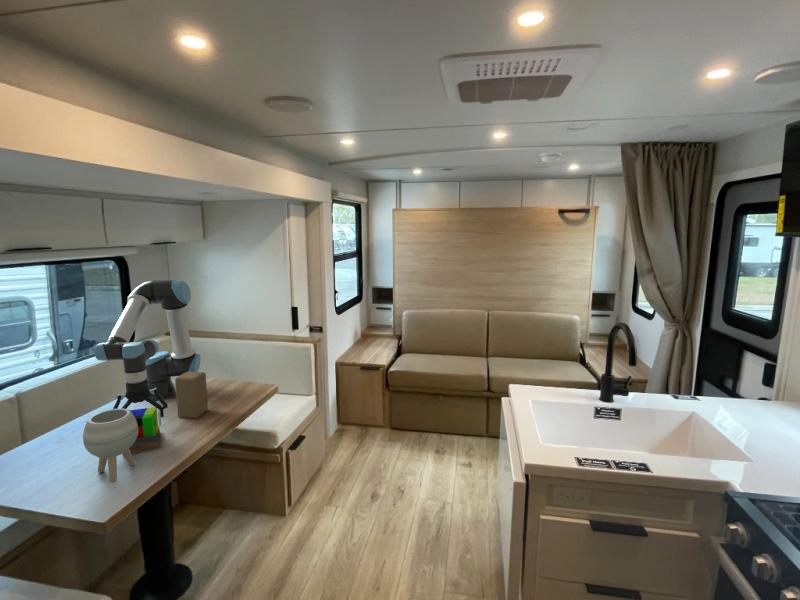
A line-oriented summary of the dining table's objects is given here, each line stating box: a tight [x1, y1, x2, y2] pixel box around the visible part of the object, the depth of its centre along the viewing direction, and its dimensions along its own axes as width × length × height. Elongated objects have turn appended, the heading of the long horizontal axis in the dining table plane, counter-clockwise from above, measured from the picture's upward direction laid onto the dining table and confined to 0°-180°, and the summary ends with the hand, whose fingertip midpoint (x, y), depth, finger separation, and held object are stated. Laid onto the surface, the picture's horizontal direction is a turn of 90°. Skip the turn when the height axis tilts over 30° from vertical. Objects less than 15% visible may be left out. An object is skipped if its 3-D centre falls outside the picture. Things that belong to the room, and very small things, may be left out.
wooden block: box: [174, 371, 209, 419], centre depth 192 cm, size 10×10×20 cm
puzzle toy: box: [129, 406, 159, 439], centre depth 166 cm, size 10×10×10 cm
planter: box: [82, 408, 138, 483], centre depth 144 cm, size 16×16×22 cm
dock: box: [129, 425, 162, 455], centre depth 166 cm, size 15×13×6 cm
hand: (141, 428), depth 166 cm, fingers open, 13 cm apart
